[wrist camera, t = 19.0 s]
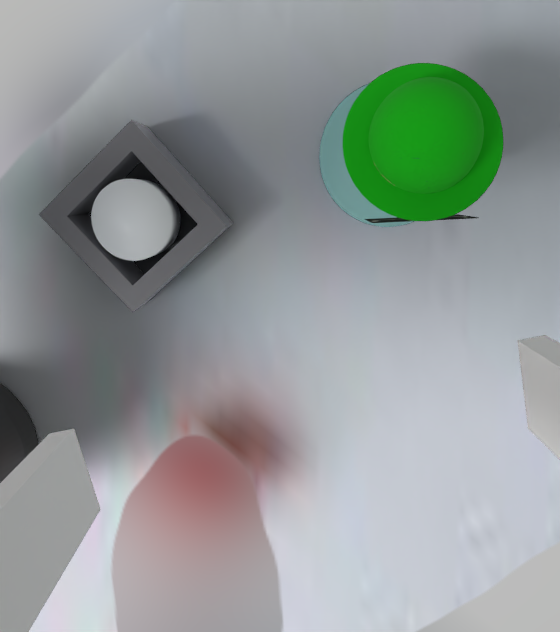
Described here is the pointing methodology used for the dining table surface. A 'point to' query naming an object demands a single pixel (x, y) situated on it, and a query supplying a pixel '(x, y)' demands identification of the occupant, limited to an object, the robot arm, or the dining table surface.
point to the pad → (345, 169)
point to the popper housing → (115, 164)
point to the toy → (422, 143)
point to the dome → (135, 219)
